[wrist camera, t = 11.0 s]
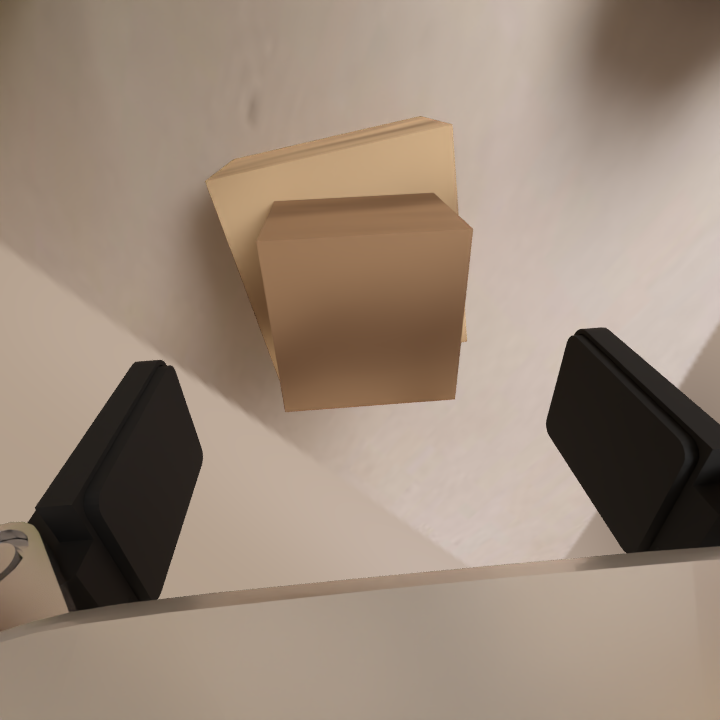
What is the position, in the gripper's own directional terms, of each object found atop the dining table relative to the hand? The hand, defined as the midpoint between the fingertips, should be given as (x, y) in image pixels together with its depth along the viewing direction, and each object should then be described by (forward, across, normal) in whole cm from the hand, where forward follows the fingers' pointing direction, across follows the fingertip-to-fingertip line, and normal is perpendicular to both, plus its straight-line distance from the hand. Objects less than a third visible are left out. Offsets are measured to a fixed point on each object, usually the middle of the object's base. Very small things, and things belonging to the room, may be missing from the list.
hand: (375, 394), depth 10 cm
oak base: (+14, 0, 0) cm, 15 cm away
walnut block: (+8, 0, 0) cm, 9 cm away
